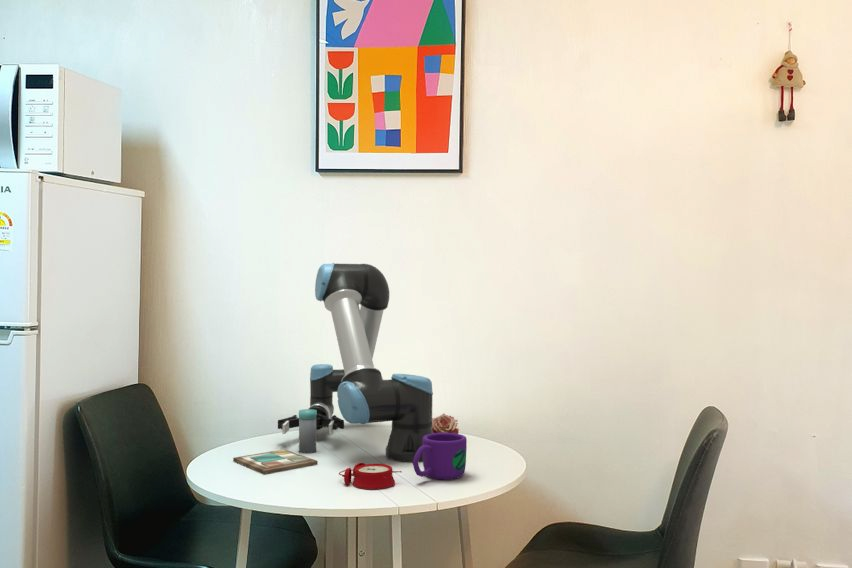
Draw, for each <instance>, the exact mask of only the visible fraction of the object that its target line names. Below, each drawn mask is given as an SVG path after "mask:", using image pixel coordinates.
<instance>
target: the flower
mask: <svg viewBox="0 0 852 568" xmlns="http://www.w3.org/2000/svg"><path fill="white" fill-rule="evenodd" d="M458 424H459V423H458V419H455V418H454V416H452V415H447V414H445V413H443V414H440V415H438V416H436V417H432V430H433V433H456V434H460V433H459V431H460V429H459V428H458Z"/></svg>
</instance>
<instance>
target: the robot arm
mask: <svg viewBox="0 0 852 568" xmlns="http://www.w3.org/2000/svg"><path fill="white" fill-rule="evenodd" d="M316 273H317V274H316V278H315V284H314V296H315V299H316V301H319V302H323V305H324V308H325V309H326V310H327V311H329V312H331V318H332V322H333V325H334V331H335V336H336V340H337V345H338V349H339V353H340V357H341V363H342V367H343V369H341V368H340V369H334V368H333V365H332V364H328V363H323V364H322V363H321V364H317V363H316V364H313V365H312V366H311V367H310V374H309V375H310V376H309V380H310V381H309V389H310V390H309V395H310V397H309V403H310V404H309V408H308V409H314V410H317V418H316V431H319V430H322V429H323V428H328V434H329V435H332V433H334V431H336V430H338V429H341V430H343V429H345V422H348V423H349V424H351V425H354V424H358V425H359V424H361V425H365V424H372V423H383V422H391V431H390V433H389V437H388V441H387V445H386V446H385V458H387V459H389V460H393V461H397V462H408V463H409V462H412V463H413V459H414V456H415V454H416V452H417V450H418V449H419V448H420V447H421V446H422V445H423V437H424V436H425V435H428V434H432V433H433V430H432V418H433V394H434V393H433V383H432V382H433V381H431V379H430V378H428V377H425V376H422V375H417V374H410V373H409V374H407V373H393V374H391V376H390V379H384V378H383V376H382V373H381V372H382V371H380V370H379V368H376V367H375V365H374V361H373V359H374V353H375V351H376V350H375V349H376V345H377V340H378V336H379V333H380V328H381V322H382V319H383V314H384V311H385V310H386V309H387V308H388V307H389V306H388V305H389V301H390V288H389V283H388V281H387V279H386V277H385V275H384V273H383V272H382V271H381V270H379V269H378V268H377V267H376V266H374V265H371V264H369V263H335V262H332V263H322V264H321V265H320V266H319V268H318V270H317V272H316ZM359 305H360V306H359ZM333 393H336V395H337V406H338V409H339V411H340V414H341V416H342V418H343V419H342V418H340V417H338V416H337V415H335V414H334V412H335V411H334V410H335V406H334V404H333V397H334V396H333V395H334V394H333ZM333 414H334V415H333ZM293 428H299V415H298V414H297V415H296V414H294V415H292V416H289V417H285V418H281V419H277V429H278V430H282V431H281V432H282V435H286V434H287V433H288V431H289V430H290V429H293ZM419 462H423V452H422V454H421V456H420V459H419Z"/></svg>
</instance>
